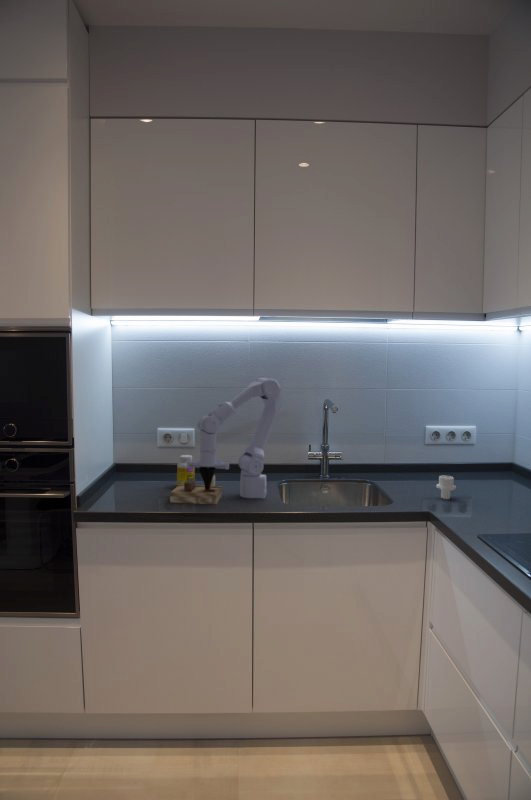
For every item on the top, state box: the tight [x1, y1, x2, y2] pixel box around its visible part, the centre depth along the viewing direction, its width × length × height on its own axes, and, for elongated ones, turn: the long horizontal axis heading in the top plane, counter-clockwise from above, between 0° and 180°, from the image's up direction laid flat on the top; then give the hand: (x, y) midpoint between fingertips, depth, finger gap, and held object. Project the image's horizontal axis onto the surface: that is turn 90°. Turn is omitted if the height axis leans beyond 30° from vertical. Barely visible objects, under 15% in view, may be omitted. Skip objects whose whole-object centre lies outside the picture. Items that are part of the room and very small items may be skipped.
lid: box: [171, 479, 221, 496], centre depth 192 cm, size 16×9×4 cm, turn 85°
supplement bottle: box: [176, 454, 196, 487], centre depth 209 cm, size 7×7×13 cm
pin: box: [211, 474, 216, 486], centre depth 203 cm, size 3×3×7 cm
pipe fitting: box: [435, 475, 457, 500], centre depth 204 cm, size 6×7×8 cm
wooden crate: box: [169, 484, 223, 505], centre depth 192 cm, size 16×11×4 cm
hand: (207, 488), depth 192 cm, fingers closed
